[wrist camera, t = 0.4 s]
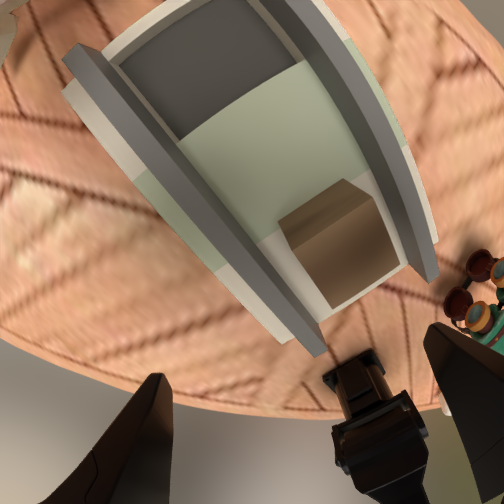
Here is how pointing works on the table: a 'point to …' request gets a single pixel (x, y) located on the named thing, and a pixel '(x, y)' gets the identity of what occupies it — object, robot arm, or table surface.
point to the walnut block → (340, 241)
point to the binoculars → (480, 302)
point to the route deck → (252, 141)
